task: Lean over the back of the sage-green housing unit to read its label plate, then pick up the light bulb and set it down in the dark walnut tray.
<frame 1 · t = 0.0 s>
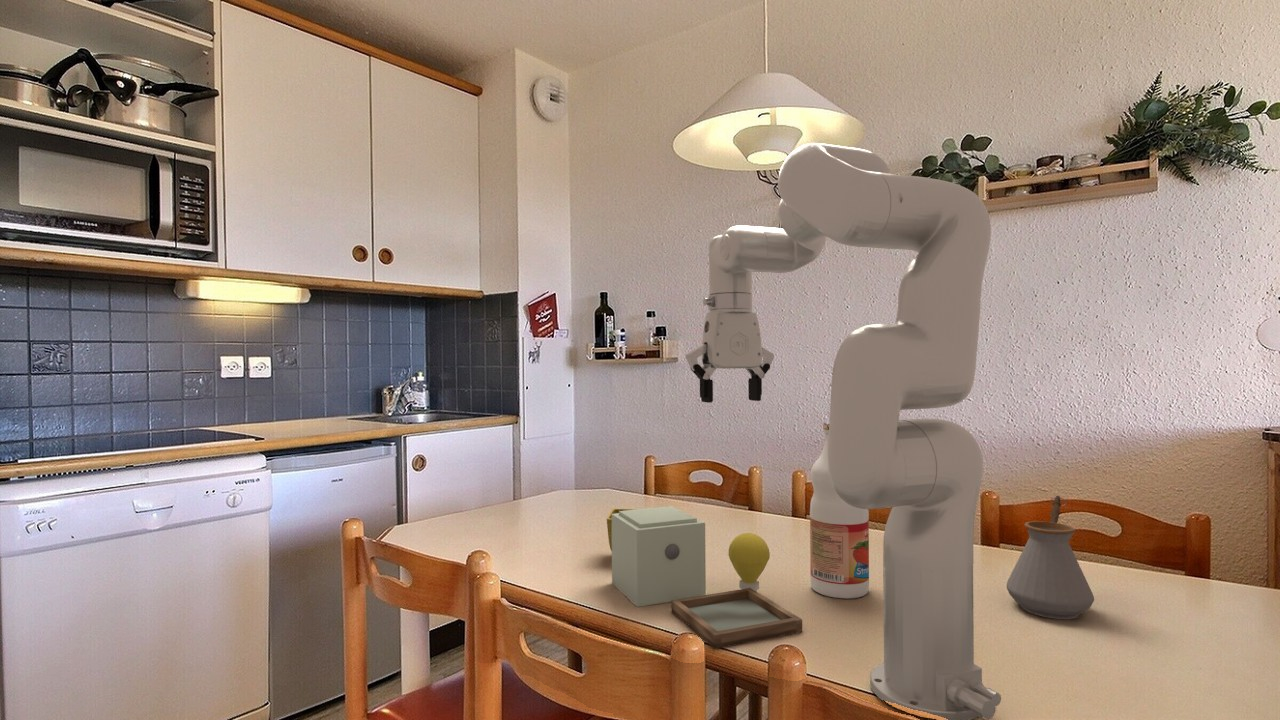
hand: (731, 401, 118), 31 cm above the table, tool pointing down, fingers open, 9 cm apart
flower pot: (632, 561, 128), on the table
tray: (734, 621, 98), on the table
housing unit: (657, 589, 112), on the table
coffee pot: (1052, 601, 106), on the table
fruit juice: (839, 591, 111), on the table
light bulb: (749, 595, 109), on the table
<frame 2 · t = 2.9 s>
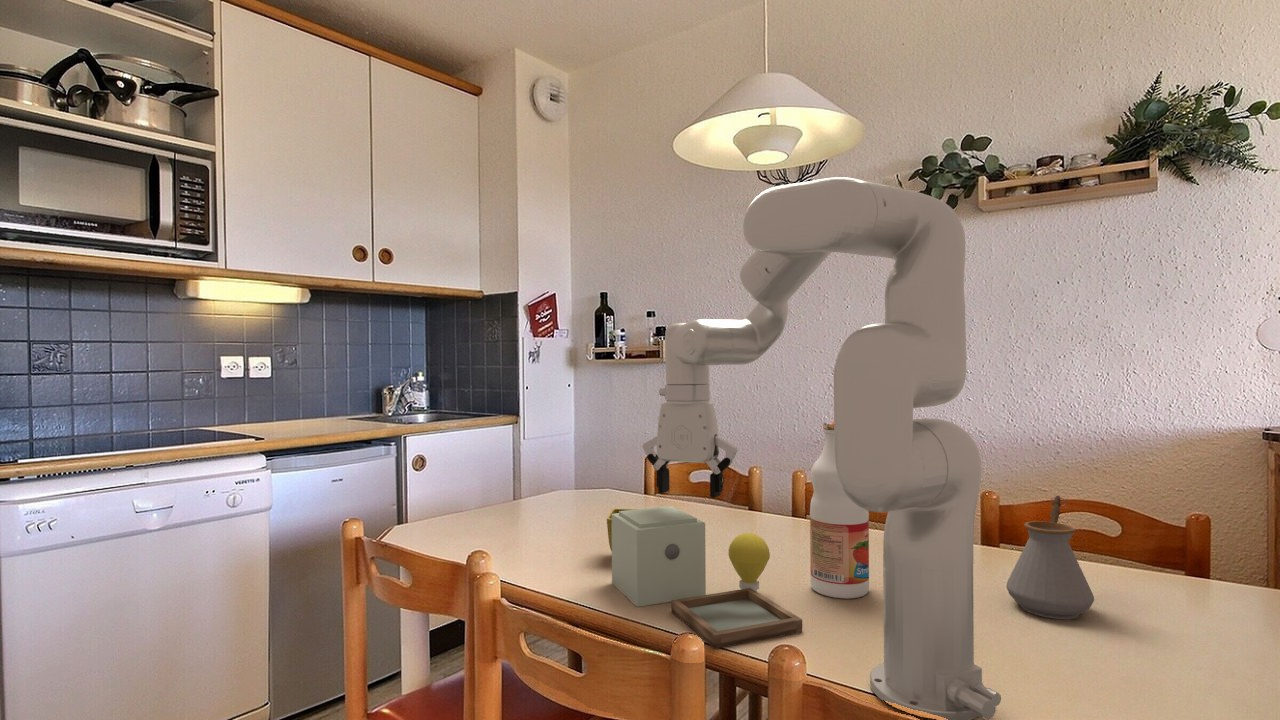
hand: (689, 494, 114), 15 cm above the table, tool pointing down, fingers open, 9 cm apart
nothing on the table moved.
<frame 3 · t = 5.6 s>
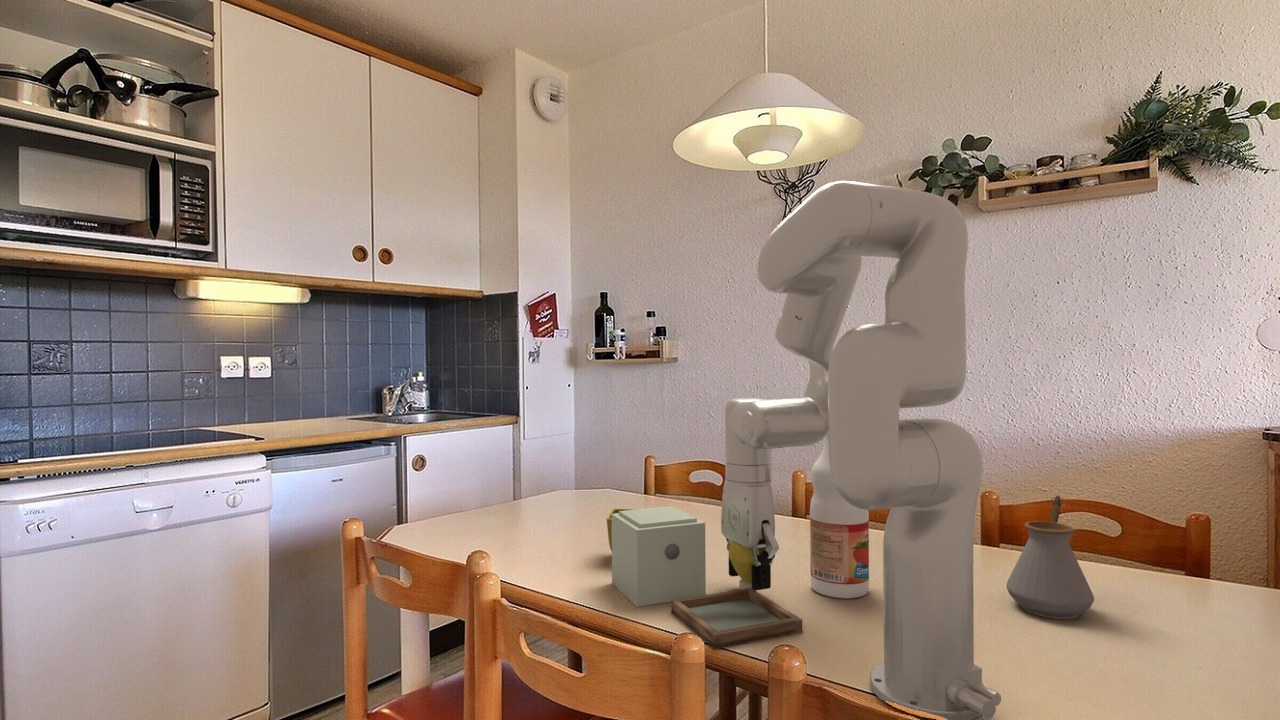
hand: (749, 580, 109), 2 cm above the table, tool pointing down, fingers closed on light bulb, 6 cm apart
light bulb: (749, 595, 109), on the table, touching gripper
everything else where it was.
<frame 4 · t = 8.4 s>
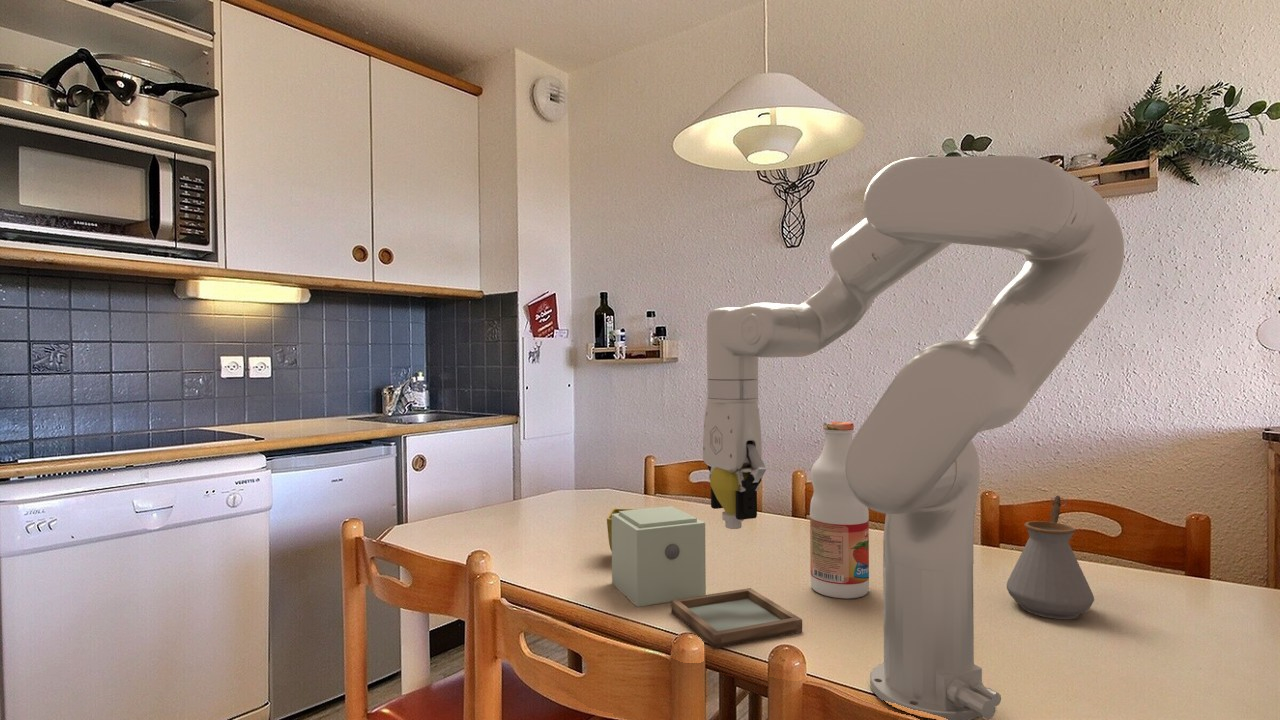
hand: (733, 511, 98), 16 cm above the table, tool pointing down, fingers closed on light bulb, 6 cm apart
light bulb: (733, 528, 98), point 14 cm above the table, touching gripper
everything else where it was.
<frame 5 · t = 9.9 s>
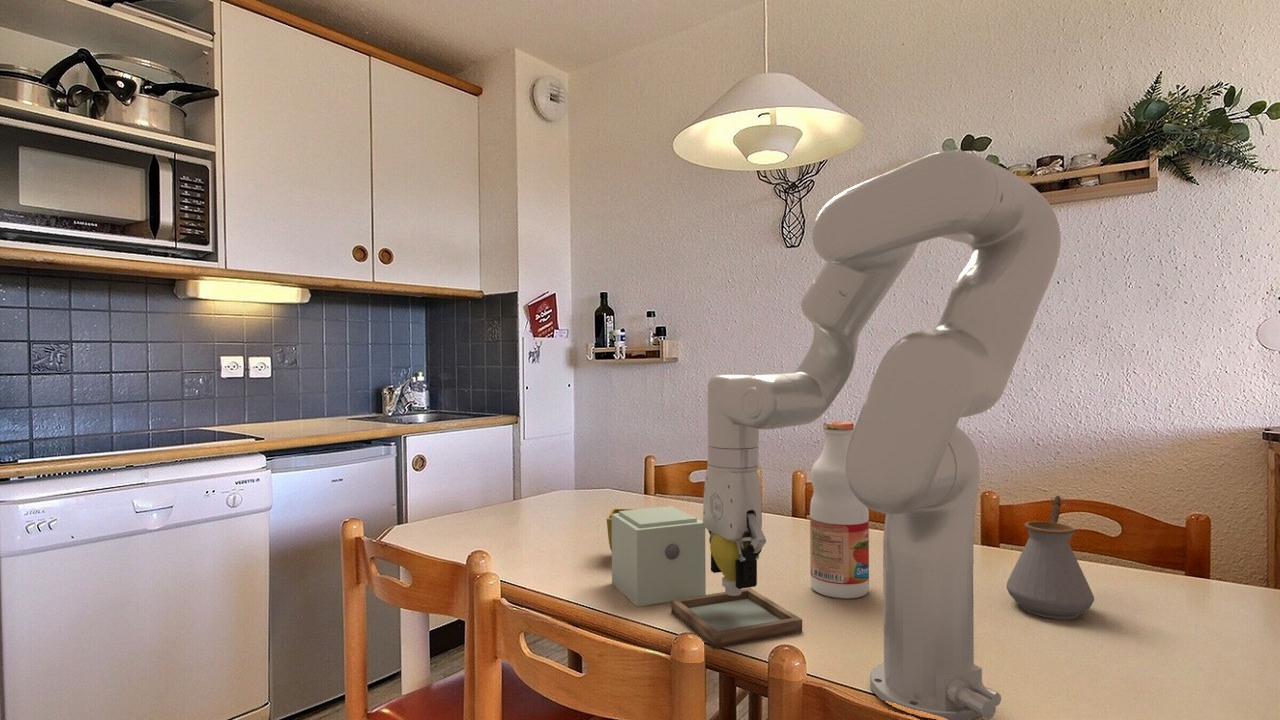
hand: (733, 578, 98), 6 cm above the table, tool pointing down, fingers closed on light bulb, 6 cm apart
light bulb: (733, 594, 98), point 4 cm above the table, touching gripper
everything else where it was.
when the fingers open (5 cm above the table, at t = 11.2 s): light bulb drops 2 cm, resting on tray.
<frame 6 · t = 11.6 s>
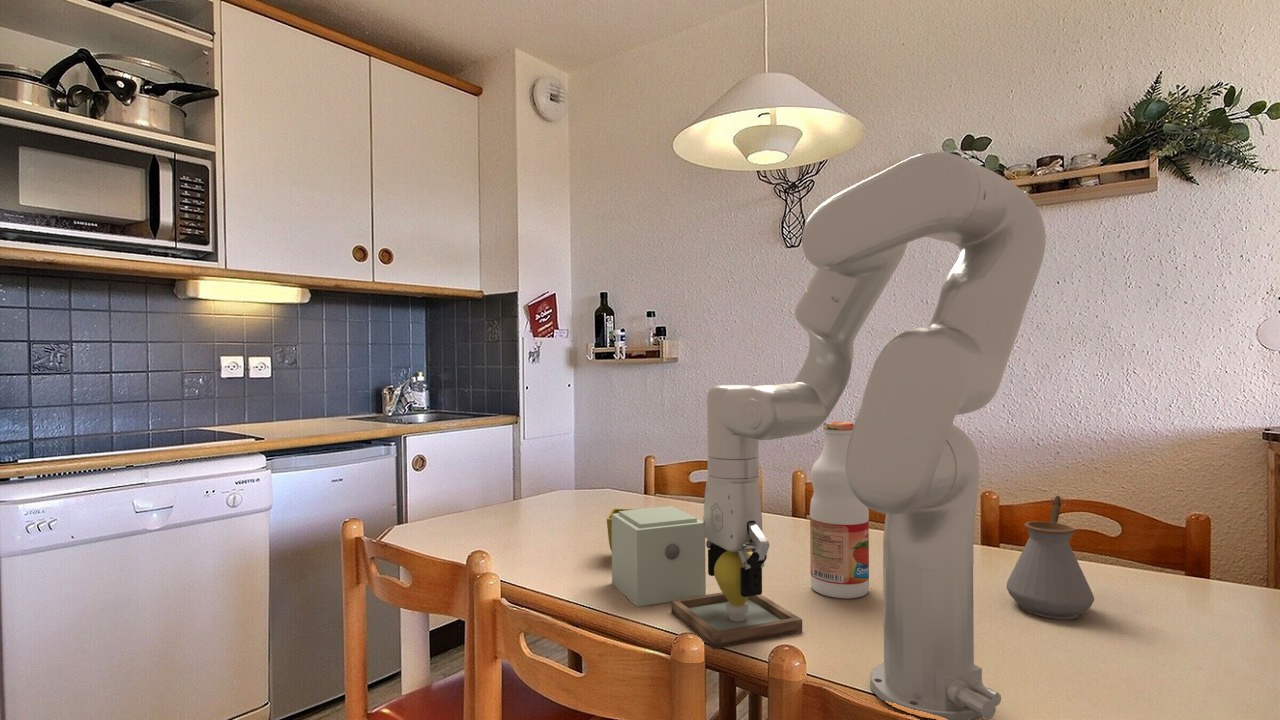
hand: (733, 584, 98), 5 cm above the table, tool pointing down, fingers open, 9 cm apart
light bulb: (737, 619, 97), point 1 cm above the table, touching tray
everything else where it was.
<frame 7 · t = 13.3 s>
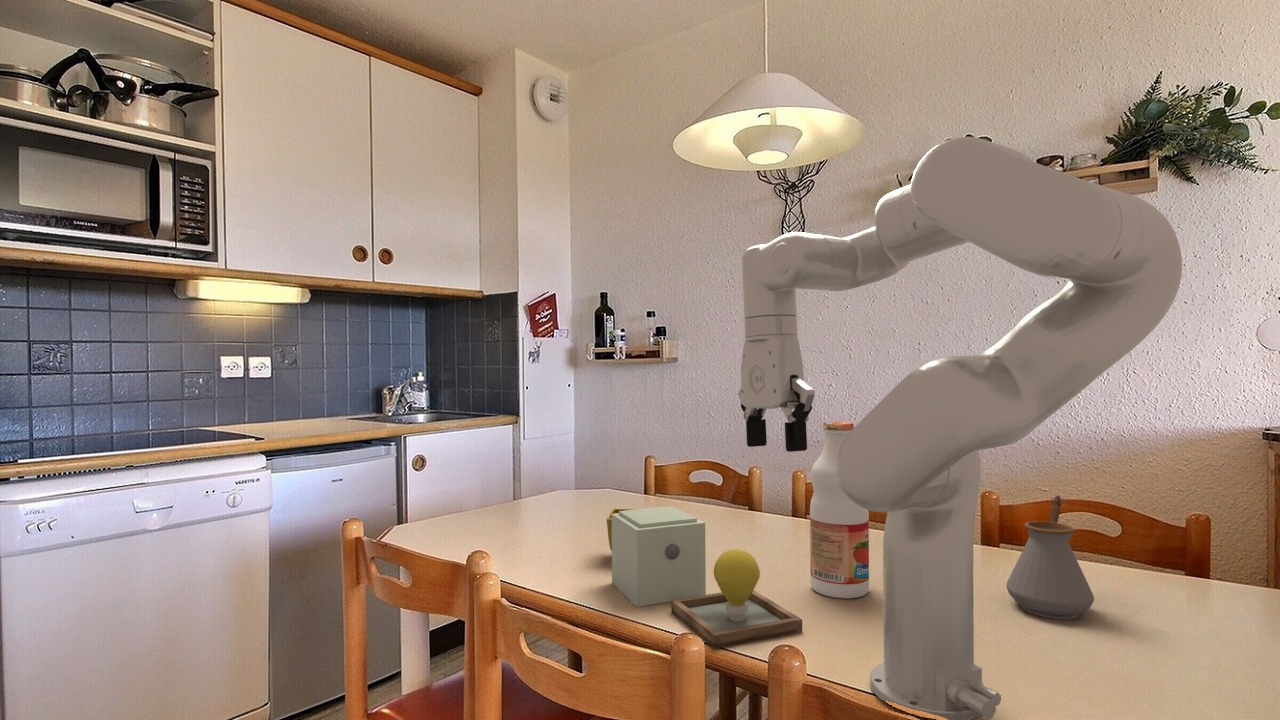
hand: (775, 448, 96), 26 cm above the table, tool pointing down, fingers open, 9 cm apart
nothing on the table moved.
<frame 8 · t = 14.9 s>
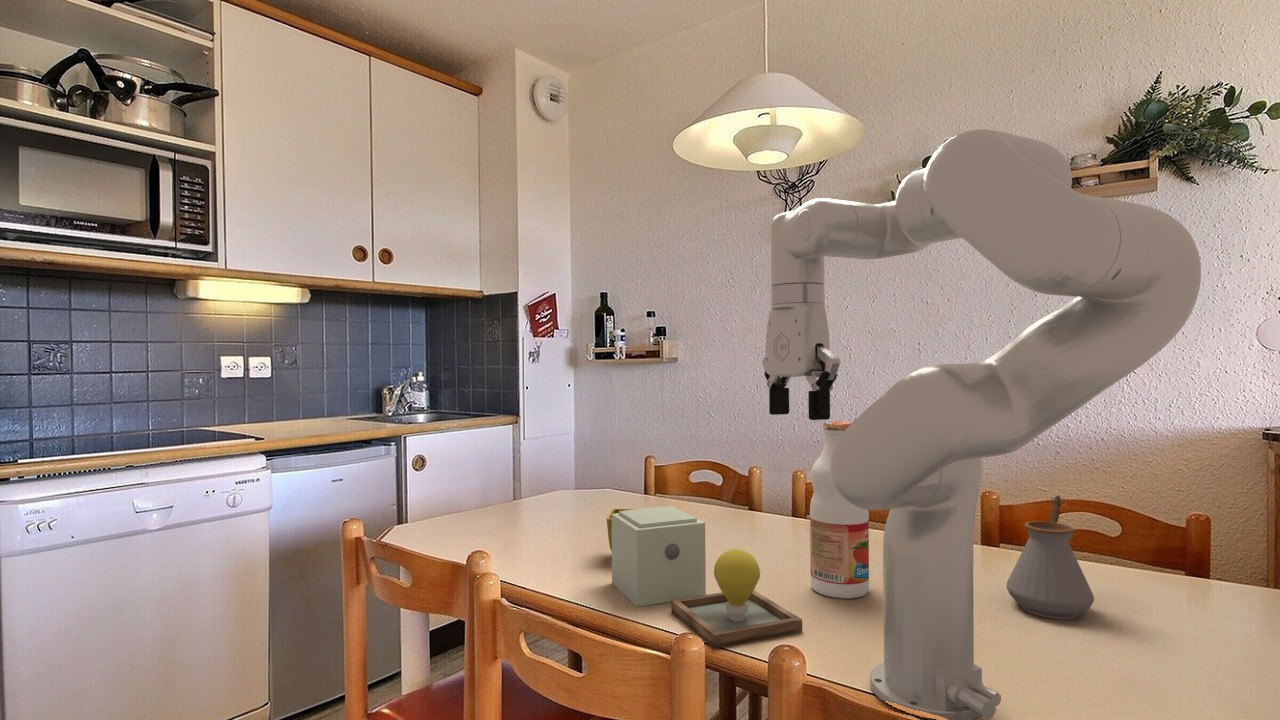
hand: (798, 416, 96), 30 cm above the table, tool pointing down, fingers open, 9 cm apart
nothing on the table moved.
at the end: light bulb inside the target area on the tray (0.6 cm from its centre), point 0.5 cm above the tray's base; the gripper is holding nothing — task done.
